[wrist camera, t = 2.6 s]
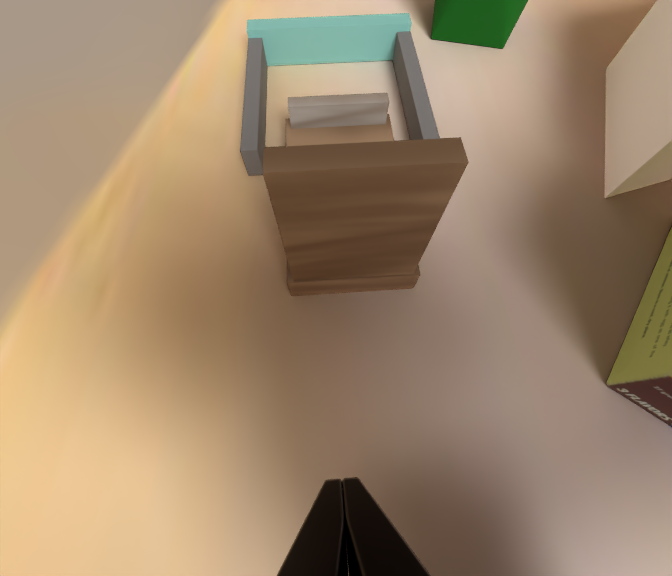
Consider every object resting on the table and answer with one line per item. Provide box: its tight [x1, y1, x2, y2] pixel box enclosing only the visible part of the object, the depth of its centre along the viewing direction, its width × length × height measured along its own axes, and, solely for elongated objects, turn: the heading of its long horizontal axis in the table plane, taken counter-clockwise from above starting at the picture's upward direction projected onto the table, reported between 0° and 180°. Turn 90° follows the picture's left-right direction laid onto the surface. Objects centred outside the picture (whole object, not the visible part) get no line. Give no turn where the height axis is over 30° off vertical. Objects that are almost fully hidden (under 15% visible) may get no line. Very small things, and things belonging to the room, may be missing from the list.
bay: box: [240, 13, 440, 176], centre depth 27 cm, size 15×14×3 cm
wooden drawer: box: [263, 93, 468, 296], centre depth 19 cm, size 14×8×11 cm, turn 4°
